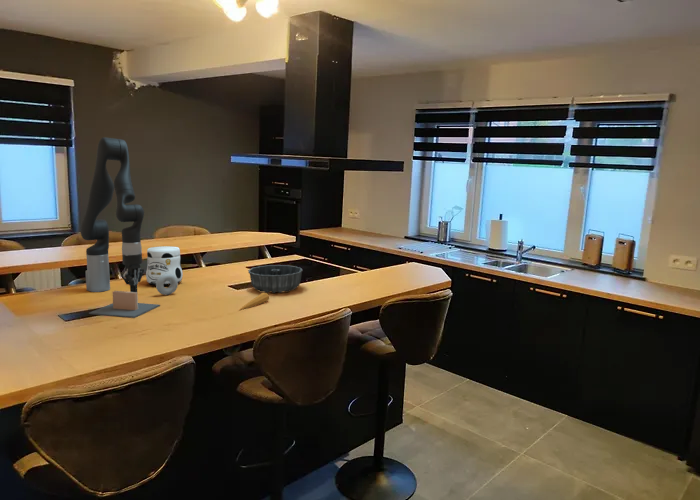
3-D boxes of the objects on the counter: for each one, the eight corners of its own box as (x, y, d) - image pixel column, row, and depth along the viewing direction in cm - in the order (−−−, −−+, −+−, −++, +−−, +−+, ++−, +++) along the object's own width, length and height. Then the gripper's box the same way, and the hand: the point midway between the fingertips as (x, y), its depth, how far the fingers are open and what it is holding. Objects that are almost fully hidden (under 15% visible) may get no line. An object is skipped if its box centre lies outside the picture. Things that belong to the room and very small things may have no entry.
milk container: (148, 289, 243) (146, 252, 240) (144, 281, 258) (143, 246, 255) (185, 285, 251) (184, 250, 248) (179, 278, 266) (178, 245, 263)
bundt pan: (237, 292, 241) (237, 271, 239) (266, 281, 265) (266, 262, 264) (285, 298, 231) (286, 277, 230) (311, 286, 255) (311, 267, 254)
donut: (157, 297, 228) (157, 275, 226) (155, 295, 231) (154, 274, 229) (179, 294, 234) (178, 273, 233) (176, 292, 237) (175, 271, 235)
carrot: (264, 302, 227) (261, 292, 227) (272, 299, 225) (268, 290, 225) (235, 317, 210) (231, 307, 210) (243, 314, 208) (239, 304, 208)
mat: (88, 314, 200) (88, 312, 200) (117, 302, 217) (117, 301, 217) (134, 317, 196) (134, 316, 196) (159, 306, 214) (159, 304, 214)
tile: (113, 308, 207) (112, 291, 205) (116, 307, 208) (115, 290, 207) (135, 310, 205) (134, 293, 204) (138, 308, 207) (137, 292, 205)
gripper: (133, 249, 216) (135, 289, 219) (113, 254, 203) (116, 296, 206) (149, 250, 215) (150, 290, 217) (130, 255, 202) (132, 297, 205)
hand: (133, 293), depth 212 cm, fingers closed
